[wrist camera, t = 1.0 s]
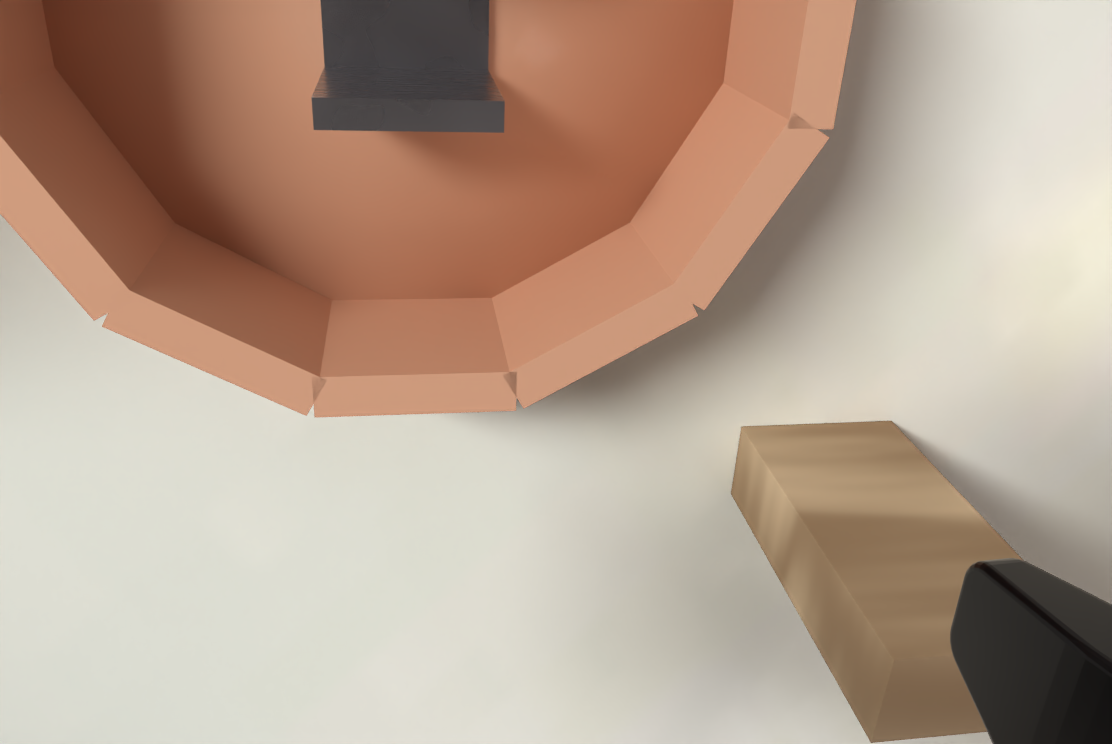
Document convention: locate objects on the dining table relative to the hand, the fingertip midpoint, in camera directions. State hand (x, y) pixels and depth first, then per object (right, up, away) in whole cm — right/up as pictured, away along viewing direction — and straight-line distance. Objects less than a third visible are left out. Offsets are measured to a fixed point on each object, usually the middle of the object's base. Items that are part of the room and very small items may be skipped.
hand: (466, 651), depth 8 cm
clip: (-2, +10, +9) cm, 14 cm away
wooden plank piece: (+7, 0, +16) cm, 18 cm away
